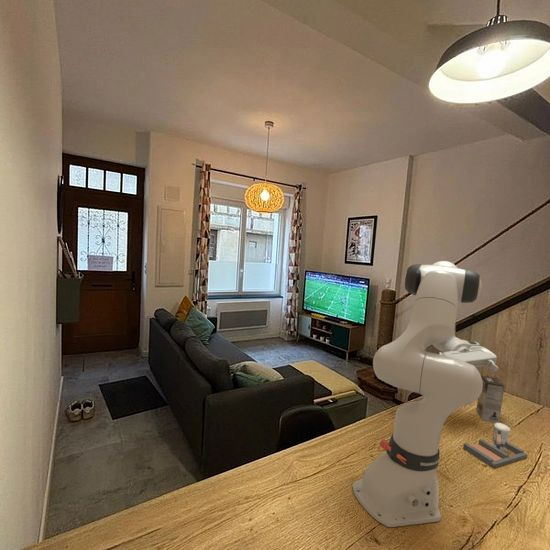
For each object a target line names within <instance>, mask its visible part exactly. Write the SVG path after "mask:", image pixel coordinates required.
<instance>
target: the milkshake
mask: <svg viewBox="0 0 550 550" xmlns="http://www.w3.org/2000/svg"><path fill="white" fill-rule="evenodd" d="M513 425H514V423H511V425H510V426H508V425H506V424H504V423H503V422H502V423H501V422H499V423H494V424H493V436H494V441H493V440H492V442H493V444H492V445H493V446H495V447H496V448H498V449H500V450H501V451H503V452H505V451H506V444H507V442H508V439H509V436H510V433H511V428H512V426H513ZM505 453H506V452H505Z"/></svg>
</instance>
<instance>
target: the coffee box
mask: <svg viewBox="0 0 550 550" xmlns="http://www.w3.org/2000/svg"><path fill="white" fill-rule="evenodd" d="M480 375H481V374H480ZM481 378H482V383H483V387H482V392H481V394H480V396H479V398H478V399H477V403H476V410H475V411H476V412H477V414H478V416H479V417H480V418H481V420H482V421H485V422H486V421H487V422H491V423H494V424H495V423H500V418H501V412H502V405H503V399H504V394H505V393H504V392H505V387H506V386H505V385H504V383H503V382H502V381H501V380H500V379H499V378H498V377H494V376H486V375H481Z"/></svg>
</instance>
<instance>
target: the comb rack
mask: <svg viewBox="0 0 550 550" xmlns="http://www.w3.org/2000/svg"><path fill="white" fill-rule="evenodd" d="M492 437H493V438H492V442H493V441H494V435H493V436H492ZM462 449H463V450H465V451H466V452H468V453H469V454H470V455H472V456H474V457H475V458H477V459H478V460H480V461H481V462H483V463H484V464H487V466H490V467H491V468H492V469H496V468H499V467H503V466H505V465H509V464H511V463H515V462H518V461H521V460H524V459H527V458H528V454H527V453H525V452H524V451H525V450H523V449H522V448H520V447H518V446H516V445H515V444H513V443H511V442H509V441H507V444H506V448H505V450H506V449H507V450H509V451H510V452H512V453H514V454H513V455H509V454H508V453H506V452H503V451H501V450H500V449H498V448H496V447H495V446H493V444H491V443H489V442H488V441H486V440H485V439H482V438H481V439H478V444H474V445H471V444H469V443H467V442H465V443H463V446H462Z"/></svg>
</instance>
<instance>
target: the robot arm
mask: <svg viewBox="0 0 550 550" xmlns="http://www.w3.org/2000/svg"><path fill="white" fill-rule="evenodd" d="M403 285H404V289H405V291H406V292H407V293H408V294H411V295H413V296H415V297H414V302H413V307H412V310H411V311H412V312H411V315H410V319H409V322H408V324H407V327H406V328H405V329H404V331H403V332H402V333H401V335H399V337H397V338H396V339H395V340H393V341H391V342H389V343H387V344H385V345H383V346H381V347H379V348H378V350H377V351H376V352H375V354H374V356H373V359H372V366H373V371H374V374H375V377H377V379H378V380H381V381H382V382H384V383H385V384H388V385H391V386H392V387H394V388H398V389H402V390H406V391H408V392H412V393H415V394H420V395H421V396H422V397H423V398H422V399H419V400H415V401H410V402H409V401H408V402H406V403H403V404H401V405H400V406H399V407H398V408H397V410H396V412H395V418H394V424H393V425H394V426H393V433H392V434H391V435H390V436H391V437H390V439H389V440H388V441H386V440H385V439H382V440H380V442H379V447H381V448H382V449H384V451H383V452H382V453H381V454H380V455H379V456H378V457H377V458H375V460H374V461H372V462H371V463H370V464H369V465H368V466H367V467H366V468H365V471H364V473H363V477H361V478H359V479H358V480H356V481H354V482H353V483H352V491H353V494H354V496H355V498H356V499H357V501H358V502H359V503H360V505H361V507H363V508H364V510H365V511H366V512H367V513H368V514H369V515H370V516H371V517H372V518H373V519H375V521H377V522H378V523H380V524H382V525H384V526H385V527H387V528H395V527H403V526H404V527H405V526H413V525H418V524H419V525H420V524H428V523H435V522H437V523H438V522H440V521H442V515H441V511H440V509H439V503H440V502H439V493H440V490H439V485H440V484H439V478H438V472H437V468H438V467H439V461H440V457H441V456H440V454H441V453H440V448H439V446H440V440H441V435H442V431H443V427H444V424H445V422H446V420H447V419H448V417H449V416H451V414H452V413H454V412H455V411H456V410H458V409H460V408H462V407H463V408H464V407H465V406H468V405H471V404H473V403H474V402H476V401H478V398H479V396H480V394H481V392H482V387H483V383H482V378H481V373H480V372H479V370H478V367H479V368H480V367H481V368H482V367H487V366H488V367H490V370H491V371H492V372H497V371H499V366H498V365H496V364H497V360H498V357H497V355H496V354H495V353H494V352H492V351H491V350H489V349H488V348H486V347H484V346H482V345H481V344H480V343H479V342H477V341H472V340H471V341H469V340H465V339H461V338H459V337H456V333H457V332H456V331H457V324H456V321H457V312H458V307H459V303H460V302H461V304H470V303H473V302H475V301H476V300H477V299H478V298H479V296H480V294H481V292H482V288H483V284H482V279H481V275H479V273H478V272H477V271H475V270H472V269H468V268H465V269H463V268H459V267H457V265H455V264H454V263H453V262H450V261H448V260H441V261H436V262H434V263H432V264H421V263H416V264H414V263H413V264H411V265H410V266H408V267H407V270H406V271H405V273H404V275H403ZM480 345H481V346H480ZM429 346H433V347H434V348H435V349H437V350H438V351H439V352H438V353H435V352H429V351H426V349H427V348H428V347H429Z"/></svg>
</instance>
